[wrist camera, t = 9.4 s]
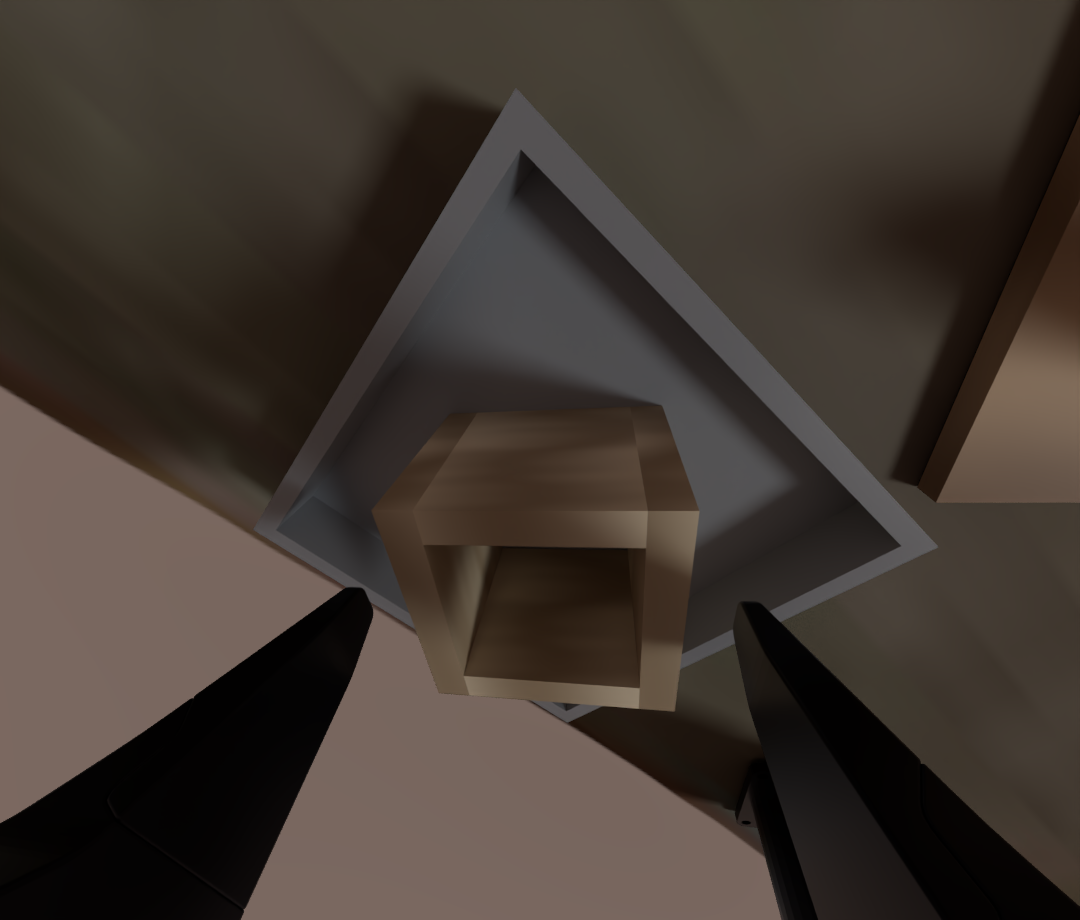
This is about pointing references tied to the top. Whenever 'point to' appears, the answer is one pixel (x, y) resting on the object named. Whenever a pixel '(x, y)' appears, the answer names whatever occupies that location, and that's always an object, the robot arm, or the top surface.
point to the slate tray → (586, 394)
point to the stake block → (1024, 372)
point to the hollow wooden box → (547, 555)
